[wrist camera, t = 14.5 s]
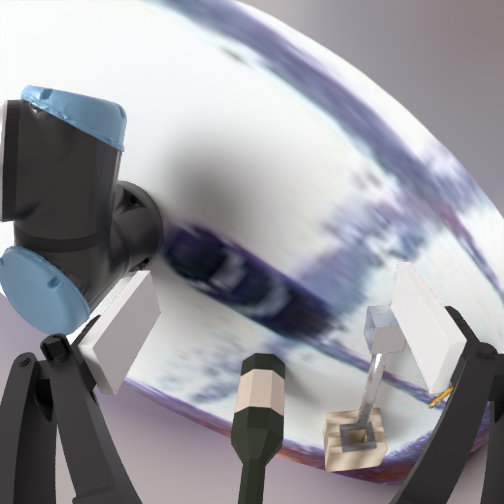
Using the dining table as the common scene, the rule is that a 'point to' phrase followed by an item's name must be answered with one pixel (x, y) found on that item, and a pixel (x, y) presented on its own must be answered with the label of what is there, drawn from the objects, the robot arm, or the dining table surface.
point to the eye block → (353, 441)
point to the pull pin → (378, 352)
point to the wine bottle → (258, 421)
